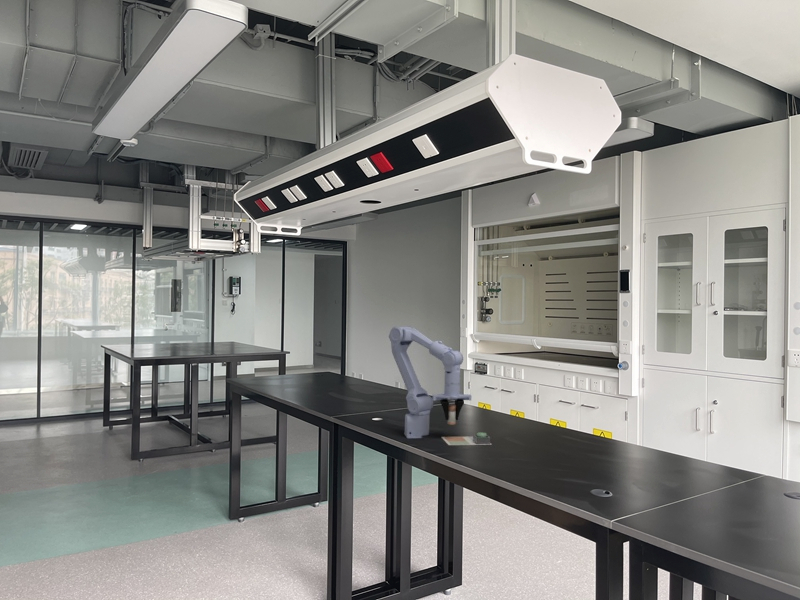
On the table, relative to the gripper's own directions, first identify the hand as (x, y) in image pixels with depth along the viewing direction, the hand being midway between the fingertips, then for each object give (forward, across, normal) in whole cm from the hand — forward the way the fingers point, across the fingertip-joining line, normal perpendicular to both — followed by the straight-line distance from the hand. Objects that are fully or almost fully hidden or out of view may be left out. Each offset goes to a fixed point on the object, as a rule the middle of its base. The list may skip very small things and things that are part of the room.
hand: (451, 419), depth 215 cm
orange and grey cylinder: (+2, 0, 0) cm, 2 cm away
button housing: (+7, +10, -6) cm, 14 cm away
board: (+8, +5, -2) cm, 10 cm away
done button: (+6, +10, -6) cm, 13 cm away
